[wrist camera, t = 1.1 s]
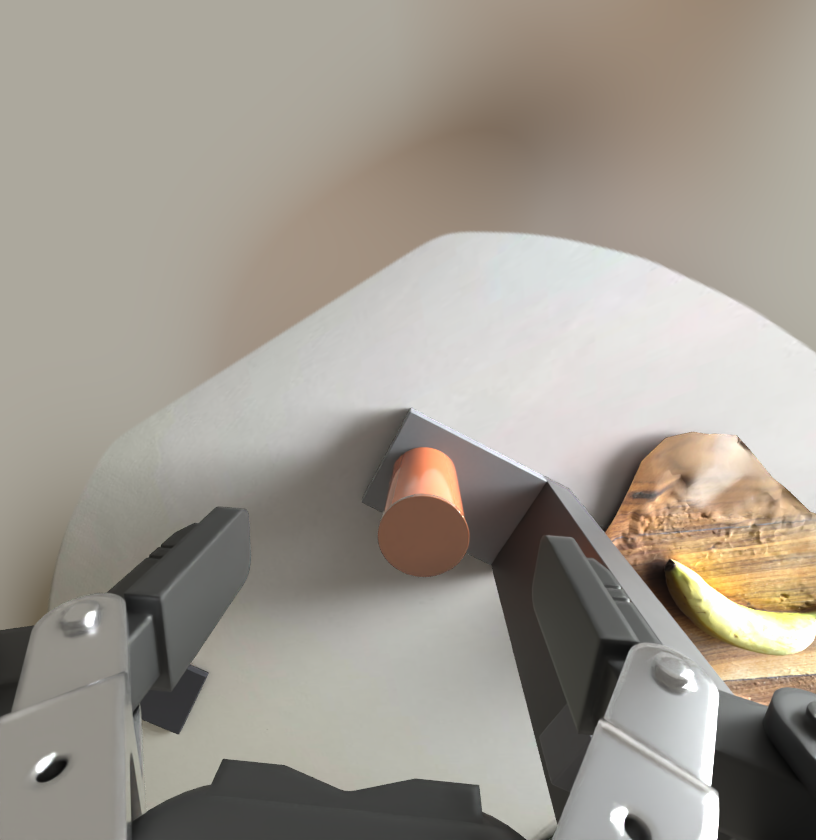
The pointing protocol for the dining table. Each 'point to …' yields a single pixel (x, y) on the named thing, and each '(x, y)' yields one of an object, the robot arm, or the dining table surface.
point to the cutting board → (726, 560)
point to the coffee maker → (531, 574)
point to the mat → (173, 701)
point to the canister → (423, 515)
